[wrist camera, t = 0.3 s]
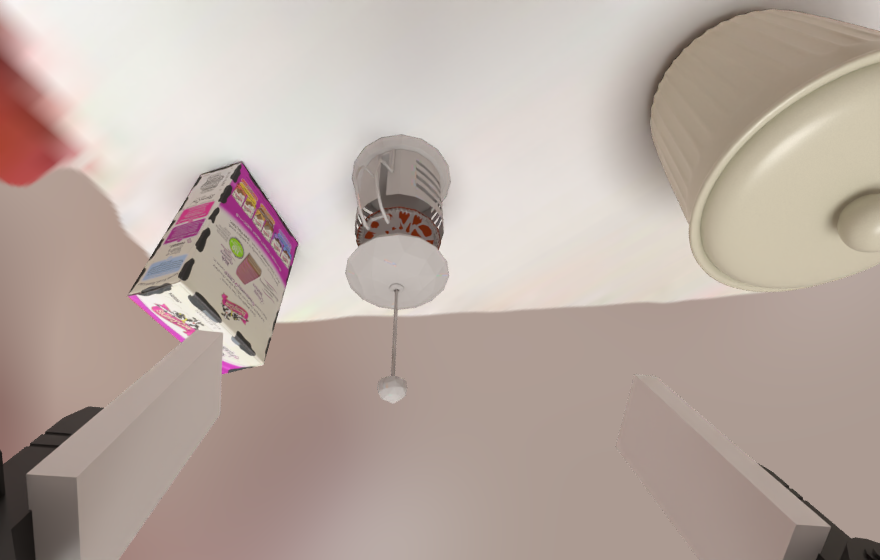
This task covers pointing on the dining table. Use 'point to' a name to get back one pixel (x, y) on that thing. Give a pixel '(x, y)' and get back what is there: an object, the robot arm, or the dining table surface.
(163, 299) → the candy bar box
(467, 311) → the dining table surface
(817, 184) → the canister
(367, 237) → the french press
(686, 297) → the dining table surface
